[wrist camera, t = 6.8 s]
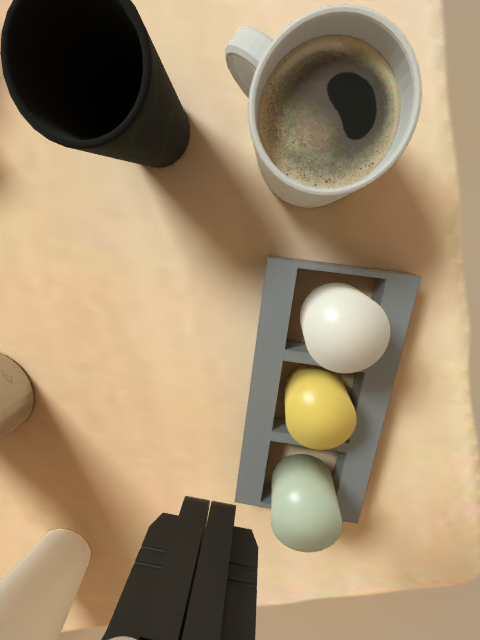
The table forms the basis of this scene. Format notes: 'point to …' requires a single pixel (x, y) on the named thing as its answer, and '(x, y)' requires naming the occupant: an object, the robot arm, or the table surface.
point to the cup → (92, 80)
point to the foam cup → (43, 587)
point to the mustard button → (318, 408)
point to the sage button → (304, 504)
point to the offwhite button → (343, 328)
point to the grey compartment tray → (272, 349)
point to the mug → (327, 101)
